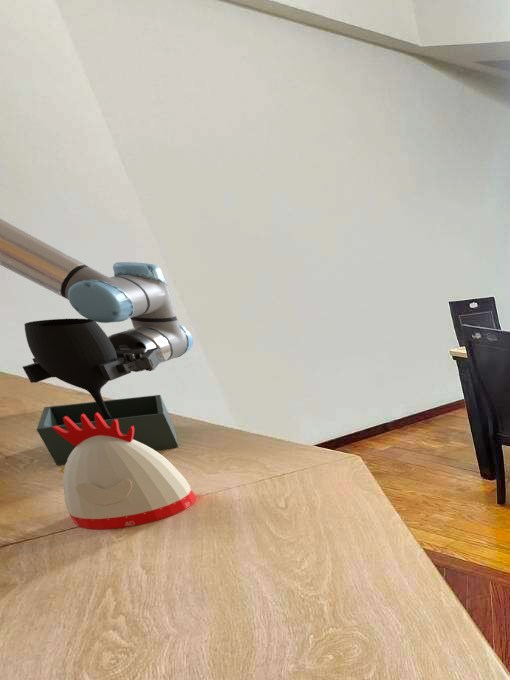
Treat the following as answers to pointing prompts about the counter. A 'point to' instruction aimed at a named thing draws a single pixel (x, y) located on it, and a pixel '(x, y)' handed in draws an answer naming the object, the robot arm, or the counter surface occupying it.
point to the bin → (138, 412)
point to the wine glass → (72, 353)
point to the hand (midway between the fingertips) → (67, 373)
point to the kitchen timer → (118, 478)
